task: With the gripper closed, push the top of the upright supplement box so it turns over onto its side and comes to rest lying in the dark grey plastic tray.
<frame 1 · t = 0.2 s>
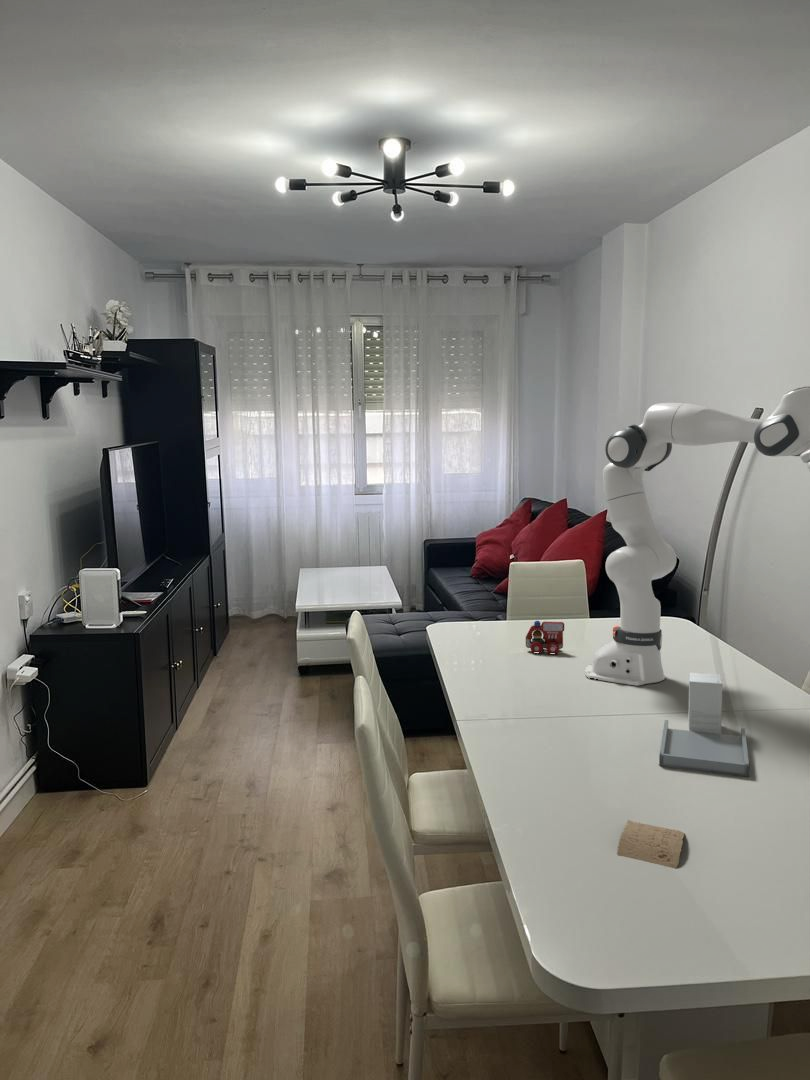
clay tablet: (652, 848, 138), on the table
tray: (703, 751, 177), on the table
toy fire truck: (544, 652, 259), on the table
supplement box: (703, 729, 191), on the table
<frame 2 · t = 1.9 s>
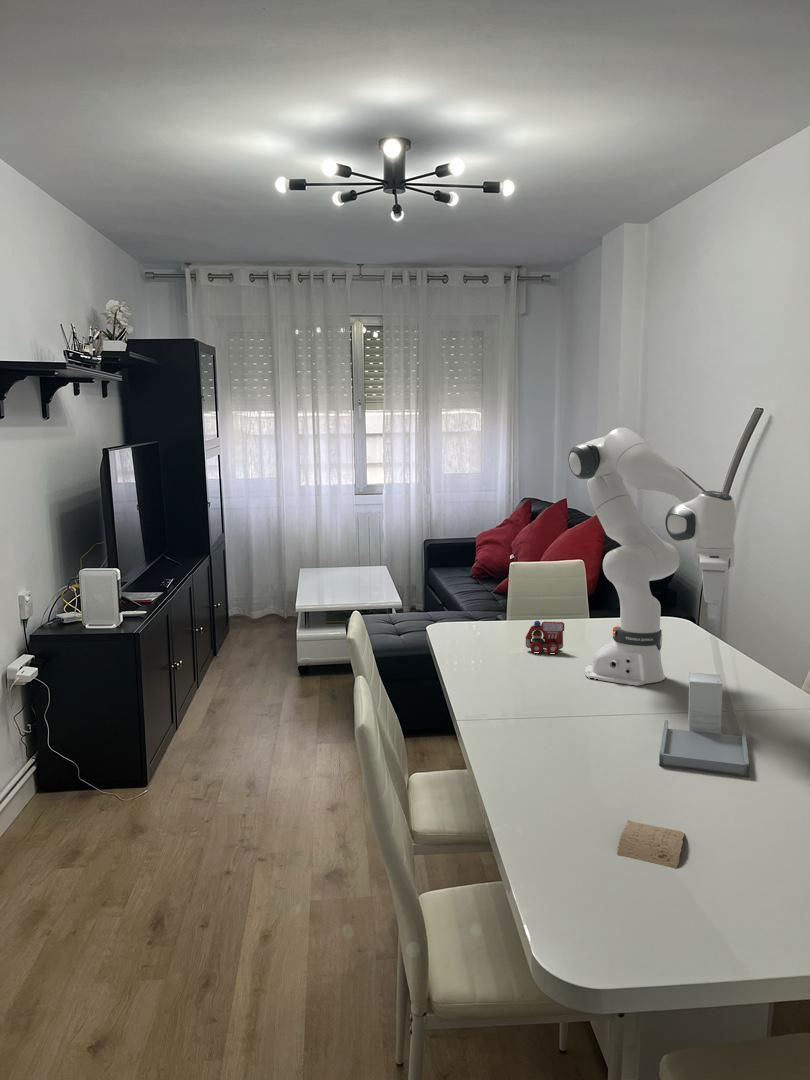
hand: (713, 614, 195), 26 cm above the table, tool pointing down, fingers open, 8 cm apart
nothing on the table moved.
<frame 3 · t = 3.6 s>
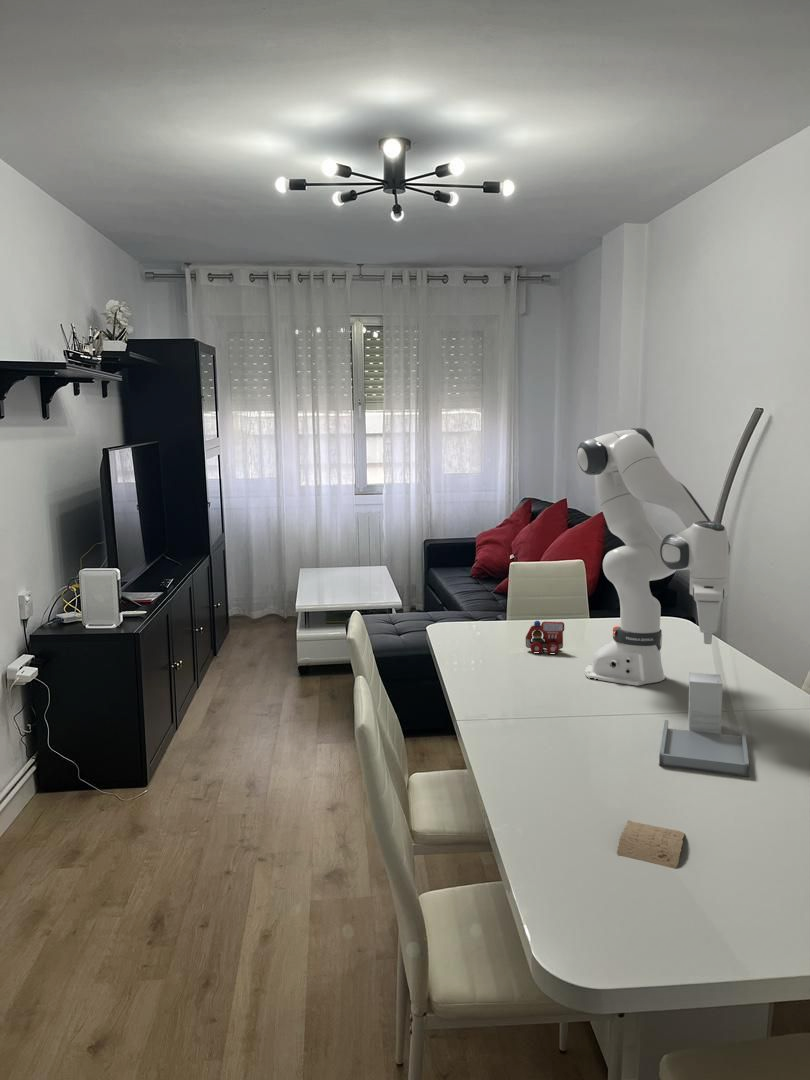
hand: (707, 642, 196), 19 cm above the table, tool pointing down, fingers closed
nothing on the table moved.
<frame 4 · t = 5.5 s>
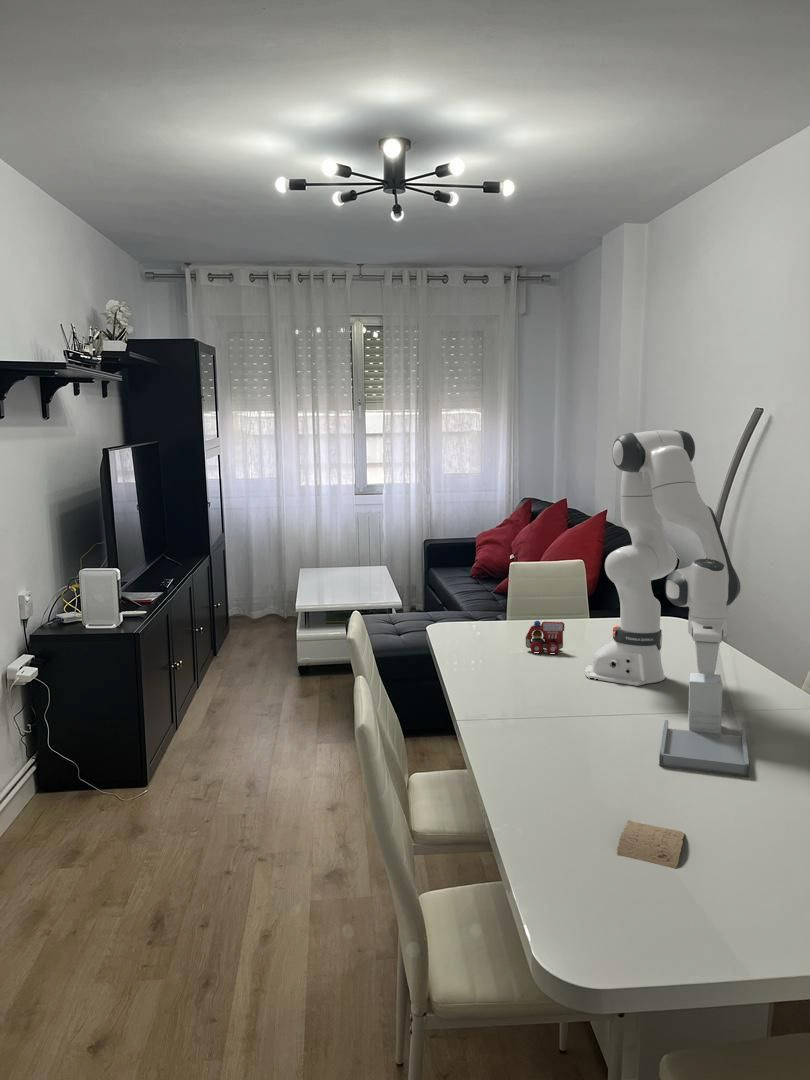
hand: (705, 681, 195), 10 cm above the table, tool pointing down, fingers closed
supplement box: (703, 729, 191), on the table, touching gripper
everything else where it was.
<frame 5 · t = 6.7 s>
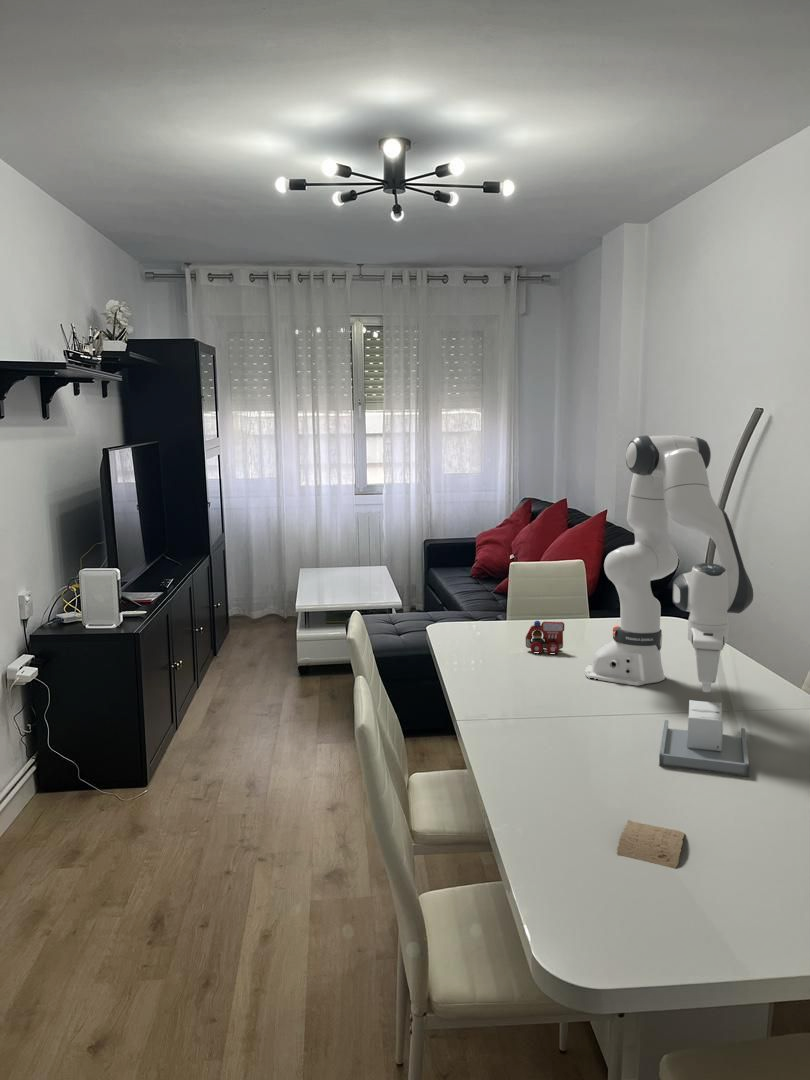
hand: (706, 690, 188), 10 cm above the table, tool pointing down, fingers closed
supplement box: (704, 715, 188), point 4 cm above the table, touching tray
everything else where it was.
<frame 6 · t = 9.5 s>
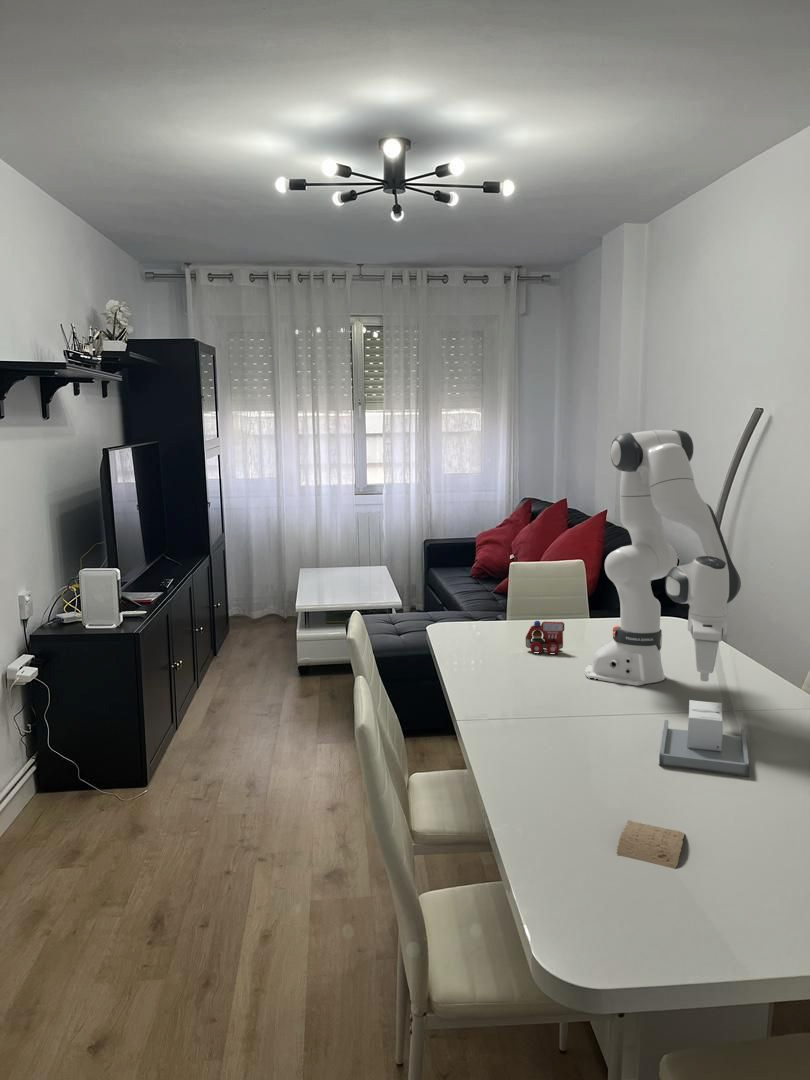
hand: (704, 679, 194), 11 cm above the table, tool pointing down, fingers closed
nothing on the table moved.
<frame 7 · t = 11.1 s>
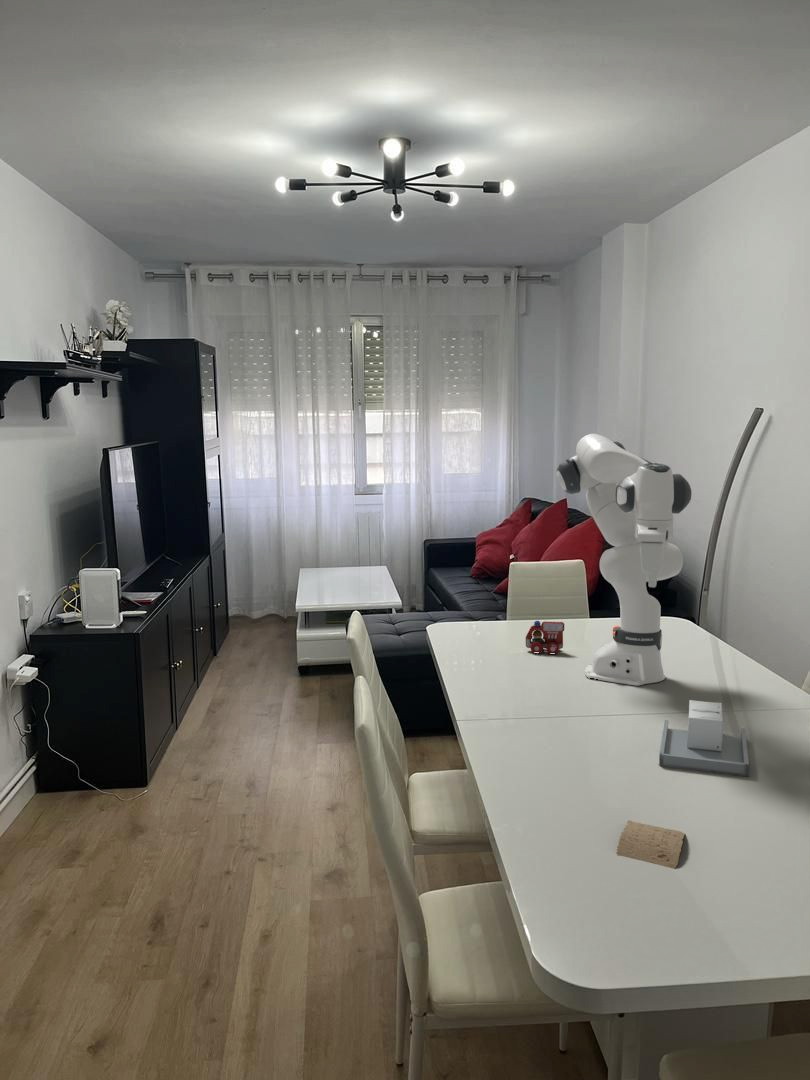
hand: (652, 586, 196), 33 cm above the table, tool pointing down, fingers closed
nothing on the table moved.
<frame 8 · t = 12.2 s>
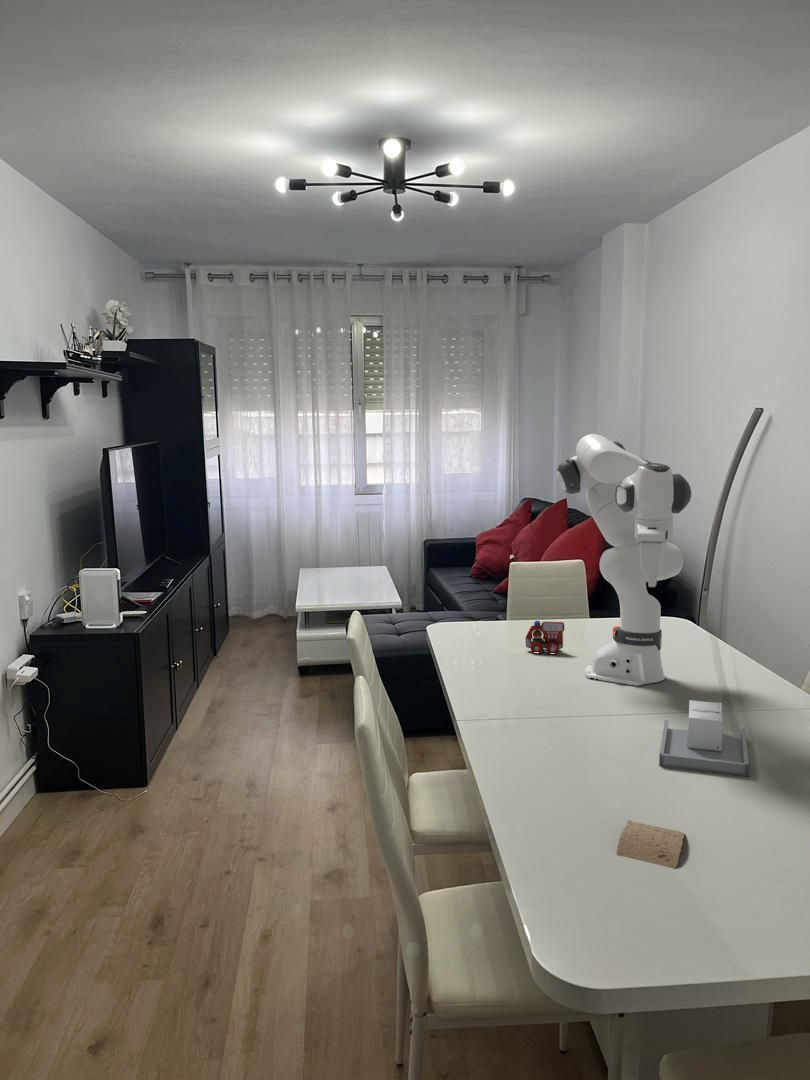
hand: (652, 586, 196), 33 cm above the table, tool pointing down, fingers closed
nothing on the table moved.
at the end: supplement box tilted 90°; supplement box inside the target area on the tray (11.8 cm from its centre), point 4.2 cm above the tray's base; the gripper is holding nothing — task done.
